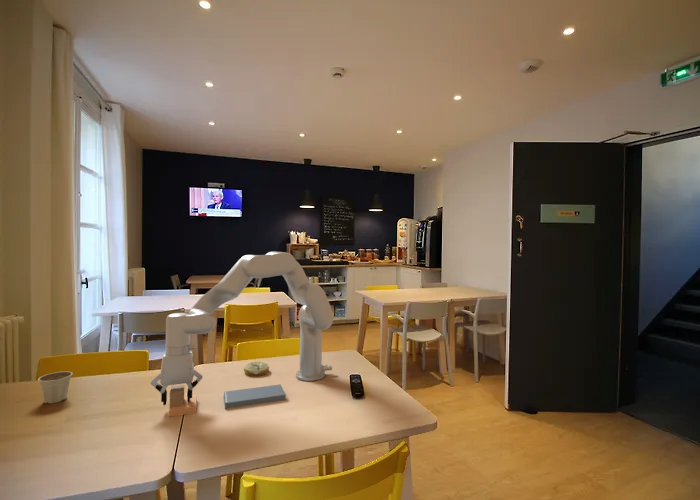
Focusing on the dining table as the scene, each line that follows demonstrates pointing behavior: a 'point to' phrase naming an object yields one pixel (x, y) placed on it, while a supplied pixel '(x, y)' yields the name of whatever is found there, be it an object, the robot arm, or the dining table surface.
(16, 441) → the dining table surface
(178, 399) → the stub
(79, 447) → the dining table surface
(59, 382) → the flower pot
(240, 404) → the board
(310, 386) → the dining table surface
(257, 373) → the decorated donut
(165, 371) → the robot arm
